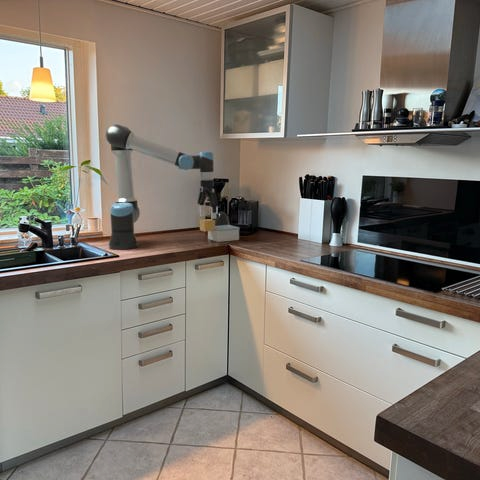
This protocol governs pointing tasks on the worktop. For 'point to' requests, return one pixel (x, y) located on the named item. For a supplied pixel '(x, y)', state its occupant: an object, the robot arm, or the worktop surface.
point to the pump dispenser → (221, 219)
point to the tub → (223, 235)
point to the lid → (210, 226)
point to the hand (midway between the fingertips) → (207, 217)
